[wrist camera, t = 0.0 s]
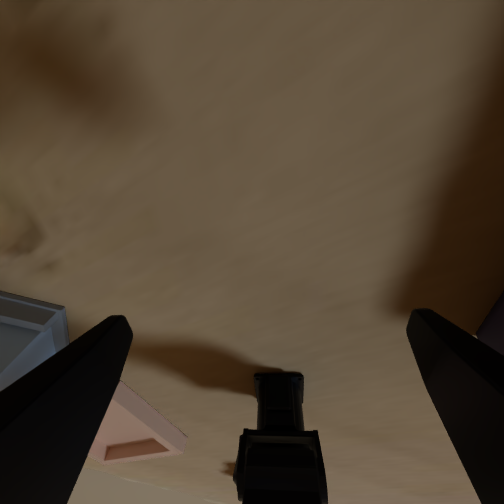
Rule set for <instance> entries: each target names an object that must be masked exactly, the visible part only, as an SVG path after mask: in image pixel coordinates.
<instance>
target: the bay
mask: <svg viewBox="0 0 504 504" xmlns="http://www.w3.org/2000/svg"><path fill="white" fill-rule="evenodd" d="M0 322H2V323H7V324H11V325H15V326H19V327H24V328H28V329H32V330H36V331H41V332H46V331H47V330H48V329H49V328H50V327H51V330H52V335H53V341H54V346H55V352H56V353H57V352H58V351H60V350H61V349H63V348H64V347H66V346H67V345H68V344H69V336H68V329H67V321H66V314H65V307H63V306H59V305H55V304H51V303H47V302H43V301H38V300H34V299H30V298H26V297H22V296H18V295H14V294H10V293H6V292H2V291H0Z"/></svg>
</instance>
